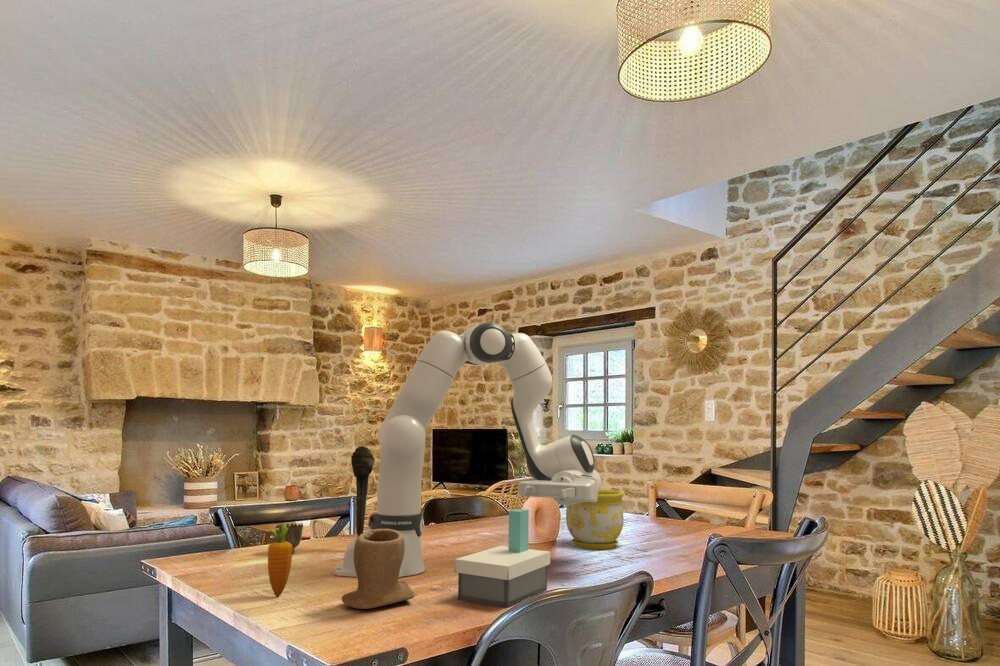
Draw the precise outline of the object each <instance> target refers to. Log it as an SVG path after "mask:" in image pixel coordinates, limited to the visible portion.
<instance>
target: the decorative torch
mask: <svg viewBox="0 0 1000 666" xmlns="http://www.w3.org/2000/svg"><path fill="white" fill-rule="evenodd" d="M350 458H351V459H350V461H351V466H352V473H353V477H354V478H356V479H355V480H356V482H355V484H356V488H355V489H356V524H357V525H356V526H357V528H356V529H357V537H358V536H359V535H360V534H362V533H364V528H365V519H366V518H365V517H366V508H367V507H366V506H367V498H368V496H367V495H368V487H369V478H370V477H369V476H370V475H371V473H372V471H373V468H374V464H375V458H374V456H373V454H372V451H371V450H370V449H369V448H368V447H366V446H362V445H361V446H358V447H357V448H355V450H354V452H352V455H351V457H350Z"/></svg>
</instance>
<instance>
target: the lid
mask: <svg viewBox="0 0 1000 666" xmlns="http://www.w3.org/2000/svg"><path fill="white" fill-rule="evenodd" d="M529 513H530V510H529V509H520V508H515V509H511V510H508V546H505V545H499V546H496V547H492V548H488V549H485V550H481V551H478V552H475V553H471V554H468V555H465V556H461V557H457V558H454V573H457V574H459V573H463V574H470V575H477V576H484V577H490V578H497V579H504V580H510V579H513V578H515V577H518V576H521V575H523V574H526V573H528V572H531V571H534V570H536V569H539V568H541V567H544V566H547V567H548V566H549V565H551V551H548V550H539V549H532V548H531V549H530V548H529V534H530V533H529V526H530V521H529V519H530V518H529V517H530V516H529V515H530V514H529Z"/></svg>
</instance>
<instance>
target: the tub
mask: <svg viewBox="0 0 1000 666" xmlns="http://www.w3.org/2000/svg"><path fill="white" fill-rule="evenodd" d="M547 573H548V565H547V566H544V567H541V568H539V569H536V570H534V571H531V572H528V573H526V574H523V575H521V576H518V577H515V578H513V579H510V580H504V579H497V578H490V577H484V576H477V575H470V574H463V573H458V581H457V583H458V588H457V591H458V592H457V600H460V601H465V602H472V603H477V604H483V605H488V606H495V607H499V608H500V607H501V608H505V609H508V608H510V607H512V606H515V605H517V604H519V603H521V602H523V601H525V600H527V599H526V598H528V597H530V596H532V597H534V596H535V594H536V595H538V593H539V594H541V593H543V592H545V591H547V590H548V574H547ZM533 595H534V596H533ZM530 598H531V597H530ZM524 599H525V600H524ZM528 599H529V598H528ZM522 600H523V601H522Z"/></svg>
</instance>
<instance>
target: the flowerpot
mask: <svg viewBox="0 0 1000 666" xmlns="http://www.w3.org/2000/svg"><path fill="white" fill-rule="evenodd" d="M624 496H625V495H624V492H623V491H619V490H614V489H601V488H600V490H599V492H598V499H597V502H584V503H577V504H571V505H566V510H565V511H566V512H565V521H566V527H567V529H568V532H569V534H570V535H571V537H572V539H571V542H572V543H573V544H574V547H577V548H581V549H587V550H609V549H614V548H615V547H616V545H617V544H618V543H619V541H618V538H619V537H620V535H621V533H622V531H623V527H624V522H625V521H624V509H623V503H624V502H623V501H622V500H623V497H624Z"/></svg>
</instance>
